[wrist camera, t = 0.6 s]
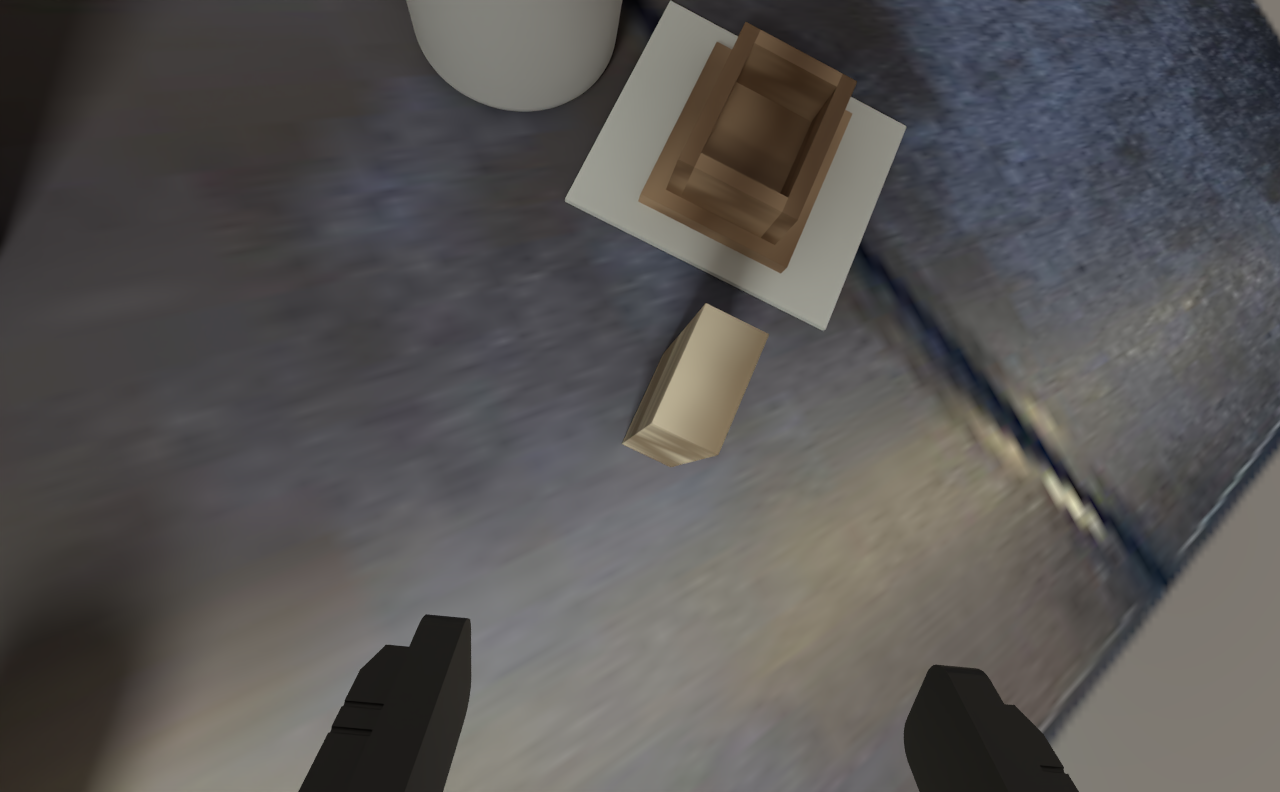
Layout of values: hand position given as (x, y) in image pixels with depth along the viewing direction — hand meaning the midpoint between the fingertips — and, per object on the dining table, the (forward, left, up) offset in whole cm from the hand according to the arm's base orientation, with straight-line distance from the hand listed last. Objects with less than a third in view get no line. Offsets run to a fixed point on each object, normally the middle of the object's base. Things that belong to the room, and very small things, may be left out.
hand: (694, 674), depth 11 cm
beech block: (+1, +9, -25) cm, 27 cm away
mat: (-1, +26, -25) cm, 36 cm away
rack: (-1, +26, -24) cm, 36 cm away
